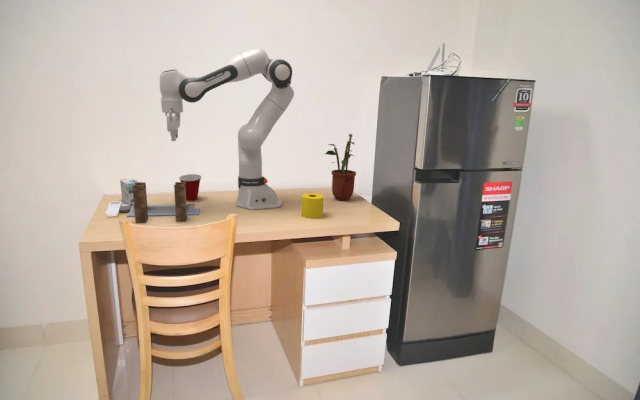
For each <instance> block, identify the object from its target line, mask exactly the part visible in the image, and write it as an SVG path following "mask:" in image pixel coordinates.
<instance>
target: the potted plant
mask: <svg viewBox="0 0 640 400" xmlns="http://www.w3.org/2000/svg"><path fill="white" fill-rule="evenodd" d="M348 137H349V139H348V140H347V142H346V145H345V151H344V155H343V156H344V157H343V160H341V163H340V157H339V153H338V148H337V147H336V144H333V143H329V144H328V145H327V146H333V147H334V148H333V150H327V151H326V152H325V153H324V155H329V156H336V161H335V162H334V161H333V162H332V164H334V163H337V169H333V170H331V175H332V177H331V178H332V181H331V192H332V195H333V197H334V198H335V200H338V201H348V200H350V199H351V198H352V196H353V194H354V191H355V190H354V189H355V181H356V180H355V178H356V177H355V176H357V172H356V171H355V170H350V169H349V168H348V167H349V160H350V158H351V156H352V157H354V155H353V154H351V152H352V149H351V144H352V145H354V146H355V142H352V137H353V134H352V133H349V134H348ZM340 164H341V165H340ZM340 166H341V167H340Z"/></svg>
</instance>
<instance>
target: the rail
mask: <svg viewBox="0 0 640 400" xmlns="http://www.w3.org/2000/svg"><path fill="white" fill-rule="evenodd" d="M195 205H196V204H195V203H186V209H187V212H195V208H196V206H195ZM147 208H148V213H175V203H172V204H171V203H170V204H169V203H168V204H166V203H165V204H147ZM132 210H133V214H135V208H134V205H132Z"/></svg>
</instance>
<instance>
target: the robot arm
mask: <svg viewBox="0 0 640 400" xmlns="http://www.w3.org/2000/svg"><path fill="white" fill-rule="evenodd" d="M259 74H261V75H262V76H263V77H264V79H265V80H267V81H268V82H270V83H271V88H270V90H269V92H268V93H267V94H266V96H265V97H264V99H262V101H261V102H260V104H259V105H258V106H257V108H256V109H255V111H254V112H253V114H252V116H251V117H250V119H249V120H248V122H247V123H246V124H244V125H241V126H240V128H239V129H238V131H237V148H238V149H237V150H238V177H237V187H238V191H237V198H236V202H235V205H236V206H237V207H239V208H244V209H248V210H251V211H253V210H265V209H277V208H278V209H279V208H280V207H282V204H283V203H282V201H281V200H280V199H279V198H278V196H277V192H276V191H275V190H274V188H272V187H270V186H269V185H268V184H267V183H269V182H268V181H269V180H268V179H267V178H266V177H265V176H264V175H263V157H262V145H263V144H264V142H266V140H267V138H268V136H269V135H270V133H271V131H272V130H273V128H274V126H275V124H277V122H278V121H279V119H280V118H281V117H282V116H283V114H284V113H285V111H286V110H287V109H288V107H289V106H290V104H291V102H292V100H293V99H294V95H295V91H294V89H293V87H292V86H291V84H292V77H293V68H292V66H291V64H290V63H289V62H288V61H286V60H285V59H281V58H270V57H269V56H268V53H267V52H266V51H265V49H263V48H260V47H257V48H256V47H255V48H252V49H248V50H245V51H243V52H240V53H238V54H236V55H234V56H232V57H230V58H229V59H228V60H226V62H225V63H224V64H222V66H221V67H219V68H218V69H216V70H215V71H212V72H209V73H208V74H206V75H203V76H200V77H190V76H188V75H186V74H184V73H182V72H181V71H180V70H178V69H168V70H164V71H162V72H161V73H160V75H159V91H160V94H161V97H160V98H161V99H160V102H161V103H160V104H161V112H162V113H164V114H165V115H164V116H165V117H166V128H167V129H166V130H167V132H168V133H170V138H171V139H170V140H171V142H176V141H177V139H178V137H179V134H178V132H179V129H180V126H181V113H184V108H183V107H184V106H183V100H184V101H185V102H188V103H197V102H199V101H201V99H202V98H203V97H204V96H205V95H206V94H207V93H208V92H210V91H211V90H213V89H216V88H218V87H220V86H222V85H225V84H227V83H228V84H229V83H237V82H241V81H244V80H247V79H249V78H252V77H254V76H256V75H259Z"/></svg>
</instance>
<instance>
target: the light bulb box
mask: <svg viewBox="0 0 640 400" xmlns="http://www.w3.org/2000/svg"><path fill="white" fill-rule="evenodd" d="M119 182H120V183H119V184H120V191H121V202H124V203H125V204H127V203H128V204H132V205H131V206H134V196H133V185H135V183H140V182H141V181H140V180H138V179H136V178H134V177H133V178H132V177H131V178H124V179H120V180H119ZM128 204H127V205H128Z"/></svg>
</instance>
